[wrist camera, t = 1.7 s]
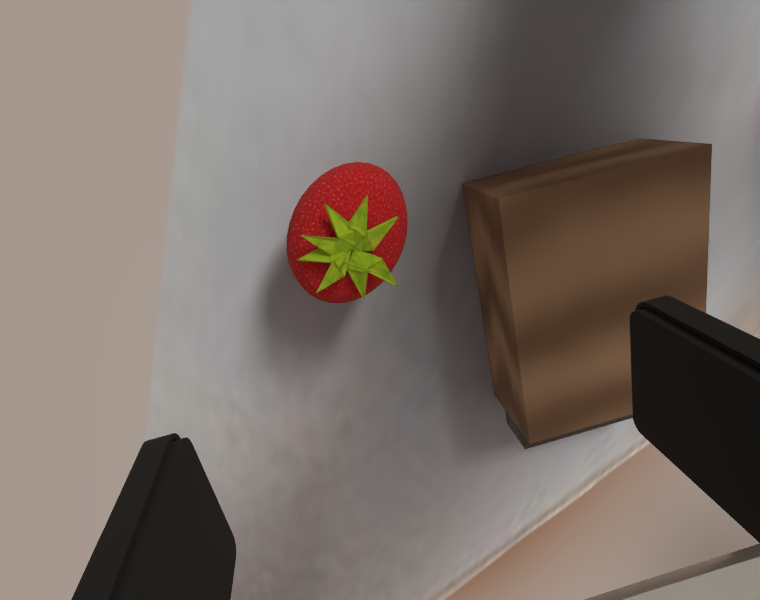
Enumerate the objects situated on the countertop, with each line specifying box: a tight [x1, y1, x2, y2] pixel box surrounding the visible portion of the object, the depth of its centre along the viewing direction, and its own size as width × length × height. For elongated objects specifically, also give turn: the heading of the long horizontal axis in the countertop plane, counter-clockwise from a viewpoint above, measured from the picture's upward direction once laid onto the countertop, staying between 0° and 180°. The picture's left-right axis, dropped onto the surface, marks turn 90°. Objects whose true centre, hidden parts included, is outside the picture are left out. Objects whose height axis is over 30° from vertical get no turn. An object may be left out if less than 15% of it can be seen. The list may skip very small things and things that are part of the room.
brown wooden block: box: [462, 139, 712, 449], centre depth 32 cm, size 17×12×6 cm
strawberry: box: [287, 162, 407, 303], centre depth 26 cm, size 6×8×10 cm
